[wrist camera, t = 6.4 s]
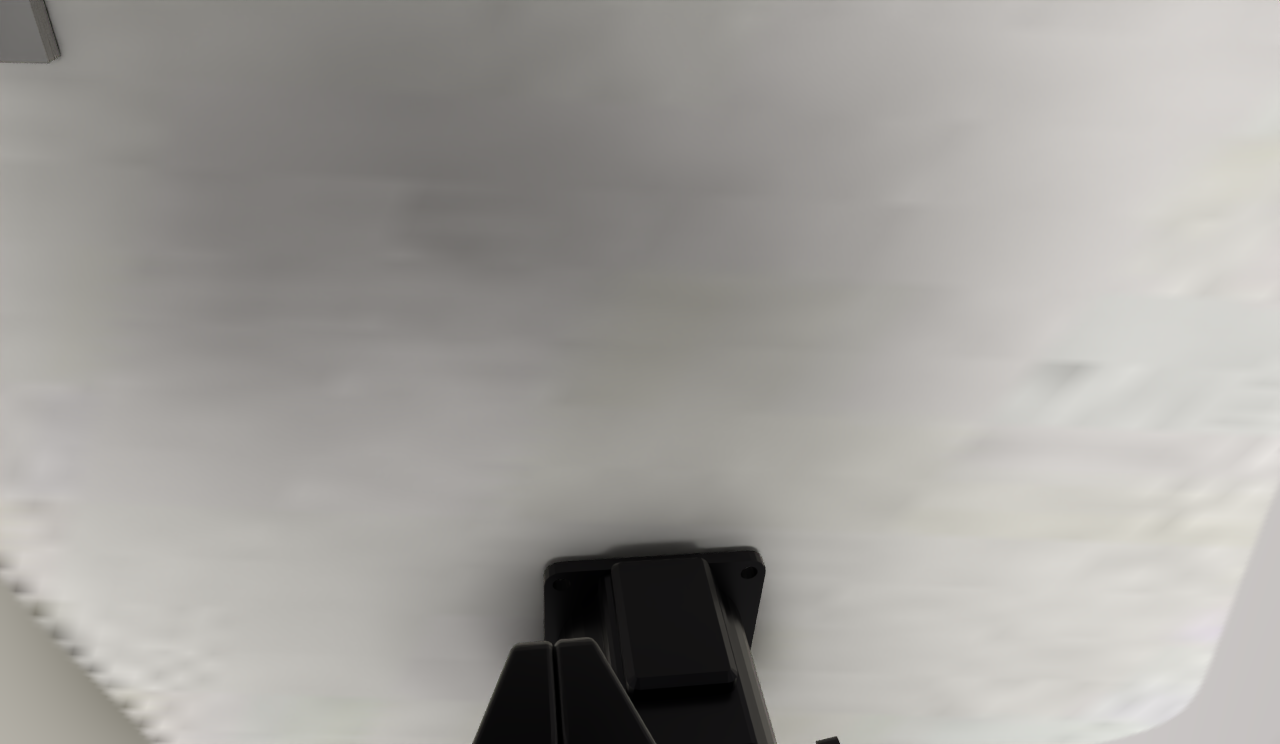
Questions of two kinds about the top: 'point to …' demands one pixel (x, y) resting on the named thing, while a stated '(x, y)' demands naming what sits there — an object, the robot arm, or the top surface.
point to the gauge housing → (26, 33)
